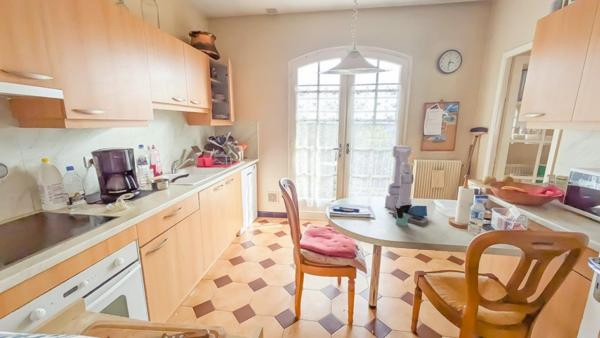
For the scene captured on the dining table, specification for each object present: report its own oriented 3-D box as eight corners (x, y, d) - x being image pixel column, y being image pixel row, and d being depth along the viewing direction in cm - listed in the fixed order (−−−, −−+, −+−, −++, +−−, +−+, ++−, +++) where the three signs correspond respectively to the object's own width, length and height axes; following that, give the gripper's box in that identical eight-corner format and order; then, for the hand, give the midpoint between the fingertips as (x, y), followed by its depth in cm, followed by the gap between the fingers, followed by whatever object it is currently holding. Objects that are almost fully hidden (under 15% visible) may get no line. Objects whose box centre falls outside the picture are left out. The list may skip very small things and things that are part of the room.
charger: (395, 224, 141) (396, 213, 140) (399, 222, 144) (400, 211, 142) (404, 227, 137) (405, 215, 136) (407, 225, 140) (408, 214, 138)
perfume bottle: (427, 216, 147) (407, 215, 147) (422, 216, 153) (403, 215, 153) (426, 205, 148) (406, 205, 148) (421, 206, 154) (402, 205, 154)
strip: (386, 214, 155) (386, 210, 154) (391, 212, 159) (392, 207, 158) (422, 227, 138) (422, 221, 137) (427, 223, 143) (427, 218, 142)
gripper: (405, 198, 129) (403, 222, 132) (417, 193, 138) (415, 215, 141) (393, 195, 134) (390, 218, 137) (405, 190, 143) (403, 212, 146)
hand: (402, 216), depth 139 cm, fingers open, 5 cm apart
